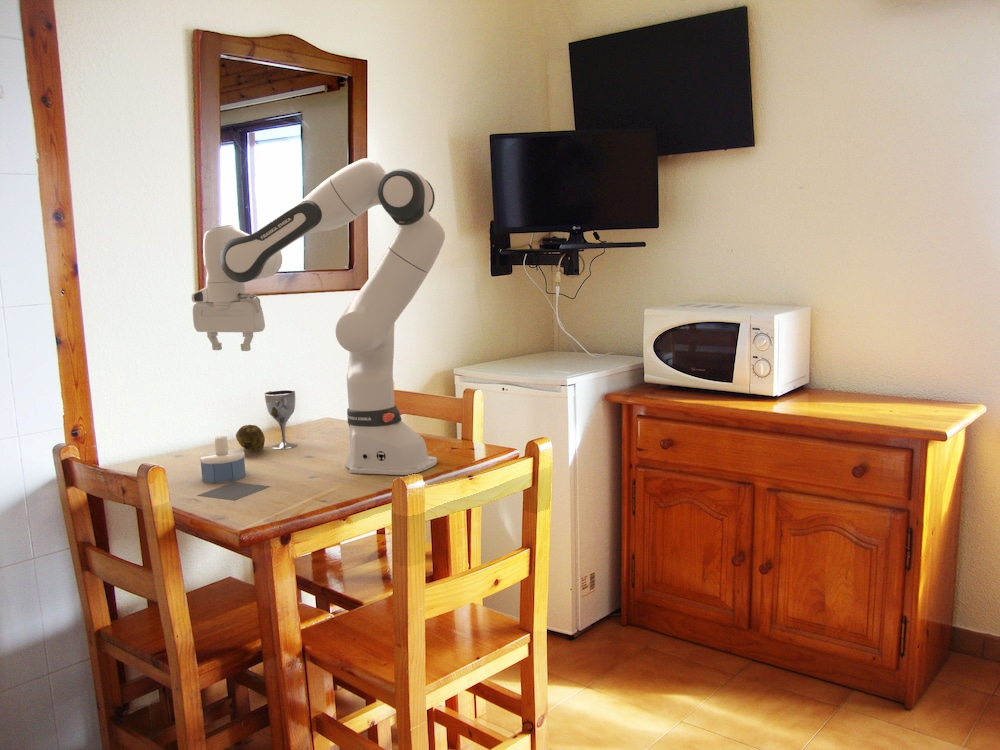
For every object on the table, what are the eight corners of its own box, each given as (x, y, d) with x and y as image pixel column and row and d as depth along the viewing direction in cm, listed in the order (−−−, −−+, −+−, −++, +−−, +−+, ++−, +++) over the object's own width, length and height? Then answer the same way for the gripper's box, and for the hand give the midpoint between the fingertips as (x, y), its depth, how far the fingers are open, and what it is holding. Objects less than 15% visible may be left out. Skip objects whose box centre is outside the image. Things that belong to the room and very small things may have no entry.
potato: (273, 445, 229) (271, 417, 228) (261, 457, 216) (259, 427, 215) (243, 447, 229) (240, 418, 228) (229, 458, 216) (226, 428, 215)
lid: (253, 454, 198) (251, 434, 197) (222, 465, 189) (220, 444, 188) (222, 451, 202) (220, 431, 202) (190, 462, 193) (188, 441, 193)
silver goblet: (263, 448, 226) (258, 394, 223) (281, 442, 233) (276, 389, 231) (287, 450, 223) (283, 395, 220) (305, 443, 230) (300, 389, 228)
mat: (270, 488, 187) (270, 486, 187) (234, 502, 177) (234, 500, 177) (234, 483, 192) (233, 481, 192) (197, 497, 182) (197, 495, 182)
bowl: (254, 475, 198) (252, 455, 198) (224, 486, 190) (222, 465, 189) (224, 472, 203) (222, 452, 202) (194, 482, 194) (191, 461, 194)
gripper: (268, 292, 200) (272, 349, 202) (205, 293, 209) (211, 348, 211) (249, 294, 194) (254, 353, 196) (186, 295, 204) (191, 351, 206)
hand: (231, 350), depth 204 cm, fingers open, 8 cm apart
